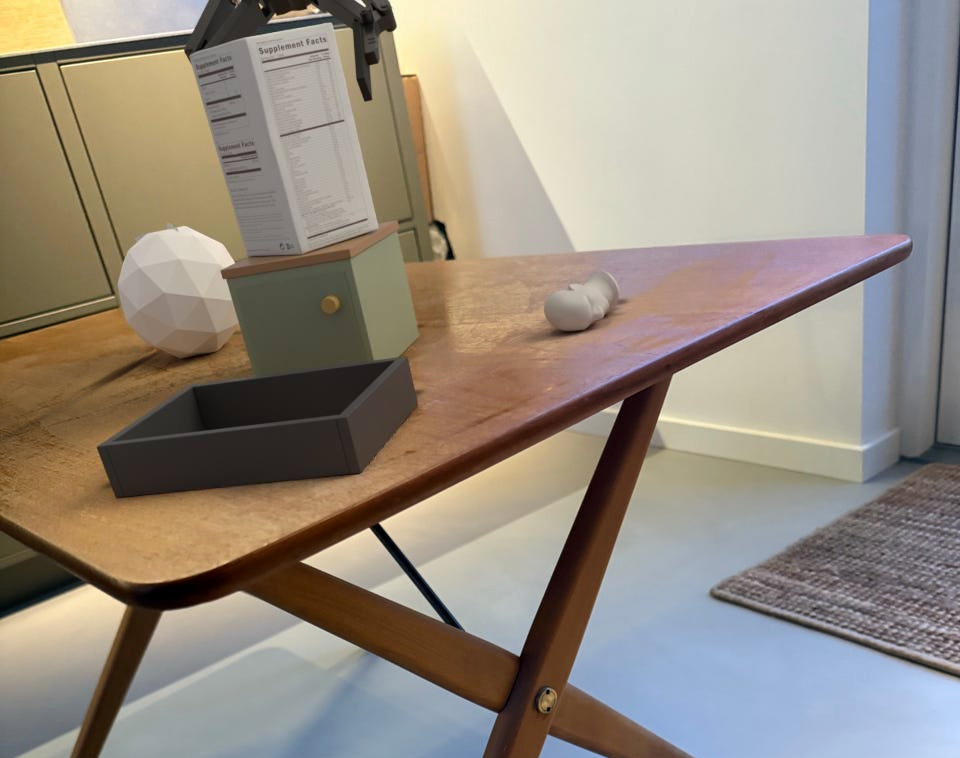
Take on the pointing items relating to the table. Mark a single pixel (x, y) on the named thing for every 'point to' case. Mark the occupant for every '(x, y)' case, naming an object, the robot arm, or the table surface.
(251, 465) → the tray
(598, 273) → the smooth white sculpture
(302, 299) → the cabinet
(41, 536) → the table surface
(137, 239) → the geodesic sphere
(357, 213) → the supplement box
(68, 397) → the table surface
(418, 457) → the table surface
